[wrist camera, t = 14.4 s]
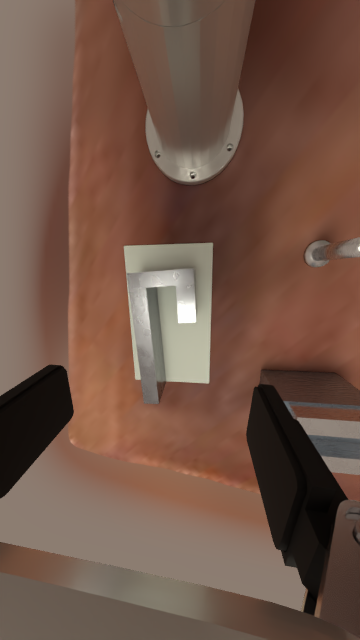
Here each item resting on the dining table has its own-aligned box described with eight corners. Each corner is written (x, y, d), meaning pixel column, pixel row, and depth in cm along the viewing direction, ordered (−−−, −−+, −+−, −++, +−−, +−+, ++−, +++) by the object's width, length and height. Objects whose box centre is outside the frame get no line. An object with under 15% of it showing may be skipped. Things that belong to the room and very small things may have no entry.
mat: (124, 246, 29) (123, 245, 29) (212, 243, 27) (213, 242, 27) (136, 378, 35) (135, 379, 35) (209, 382, 33) (209, 383, 33)
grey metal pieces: (275, 242, 26) (320, 223, 16) (366, 239, 25) (476, 216, 15) (255, 422, 34) (277, 484, 24) (323, 427, 33) (376, 495, 23)
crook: (141, 273, 29) (126, 273, 24) (195, 269, 28) (193, 268, 22) (153, 381, 34) (144, 403, 28) (200, 381, 33) (199, 404, 27)
